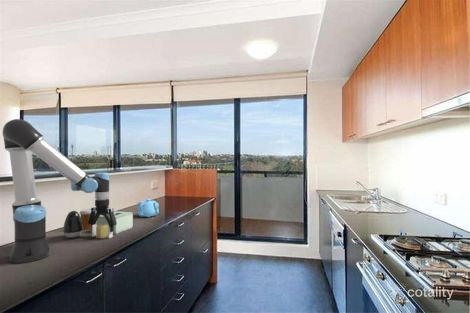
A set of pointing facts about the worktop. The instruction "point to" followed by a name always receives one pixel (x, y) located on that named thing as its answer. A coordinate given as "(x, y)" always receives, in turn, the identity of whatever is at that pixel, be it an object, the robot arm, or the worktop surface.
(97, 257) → the worktop surface
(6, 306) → the worktop surface
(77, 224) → the black dome on base
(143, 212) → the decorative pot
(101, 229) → the yellow block
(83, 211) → the disposable coffee cup
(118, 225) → the money box
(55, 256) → the worktop surface
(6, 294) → the worktop surface
